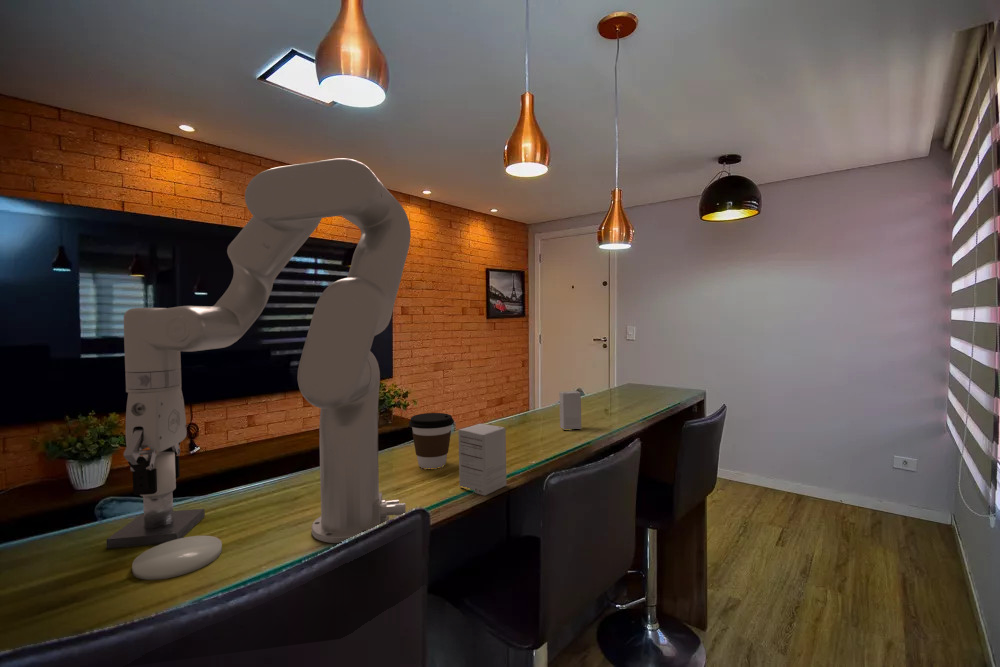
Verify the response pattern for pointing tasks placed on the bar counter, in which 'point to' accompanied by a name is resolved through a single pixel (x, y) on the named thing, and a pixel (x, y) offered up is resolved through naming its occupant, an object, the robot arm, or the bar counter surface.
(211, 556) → the white domed disc
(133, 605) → the bar counter surface
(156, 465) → the cap
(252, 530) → the bar counter surface
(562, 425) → the skincare box
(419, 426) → the coffee cup
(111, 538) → the square base with cylinder
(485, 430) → the supplement box
